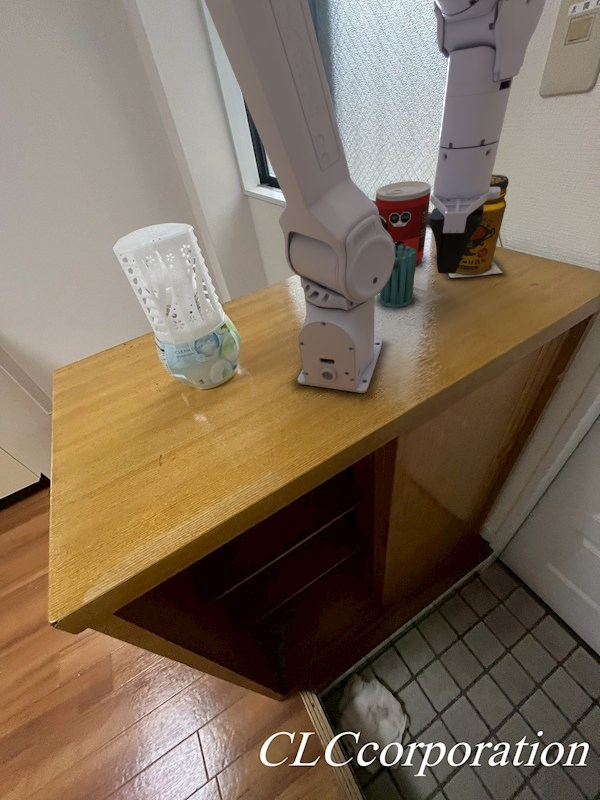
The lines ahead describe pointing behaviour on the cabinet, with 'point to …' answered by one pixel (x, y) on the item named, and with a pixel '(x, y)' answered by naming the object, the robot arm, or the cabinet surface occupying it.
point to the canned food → (405, 213)
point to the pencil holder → (400, 279)
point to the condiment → (485, 236)
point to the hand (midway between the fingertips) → (446, 271)
